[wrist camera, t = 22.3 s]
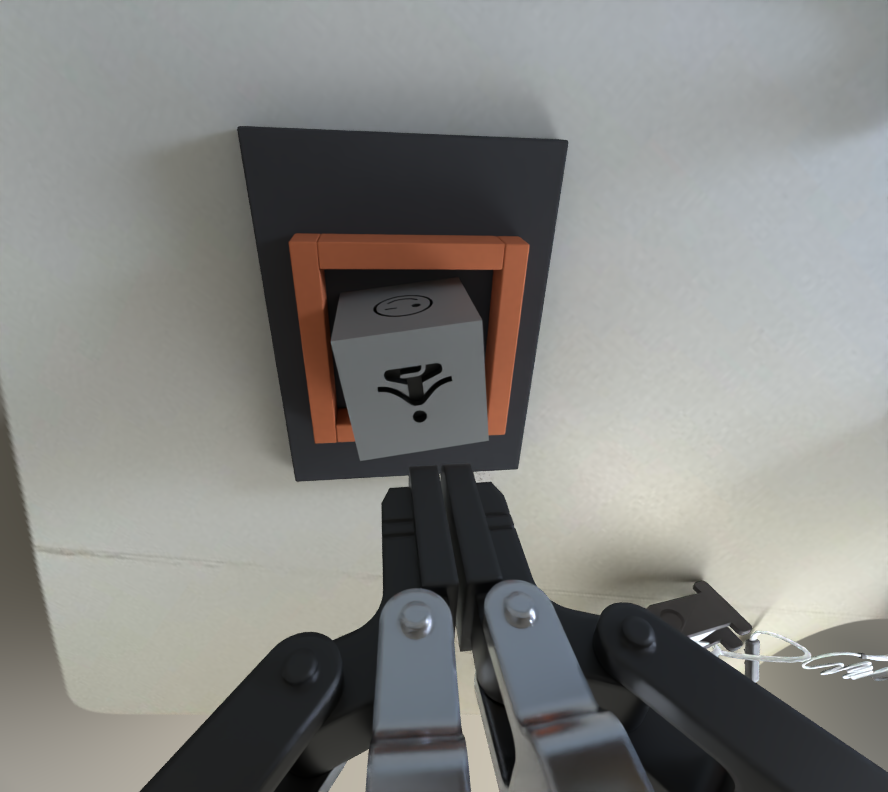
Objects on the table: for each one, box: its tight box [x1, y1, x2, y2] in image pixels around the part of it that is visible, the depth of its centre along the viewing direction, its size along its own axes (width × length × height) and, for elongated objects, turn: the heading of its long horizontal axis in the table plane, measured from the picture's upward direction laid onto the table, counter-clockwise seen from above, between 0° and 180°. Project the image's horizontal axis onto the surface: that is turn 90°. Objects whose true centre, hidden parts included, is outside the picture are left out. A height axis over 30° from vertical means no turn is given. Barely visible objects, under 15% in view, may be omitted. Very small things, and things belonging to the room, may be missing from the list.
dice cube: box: [331, 277, 489, 461], centre depth 18 cm, size 5×5×5 cm
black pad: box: [237, 126, 568, 482], centre depth 20 cm, size 12×16×2 cm
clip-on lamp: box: [647, 581, 811, 682], centre depth 36 cm, size 12×6×18 cm
